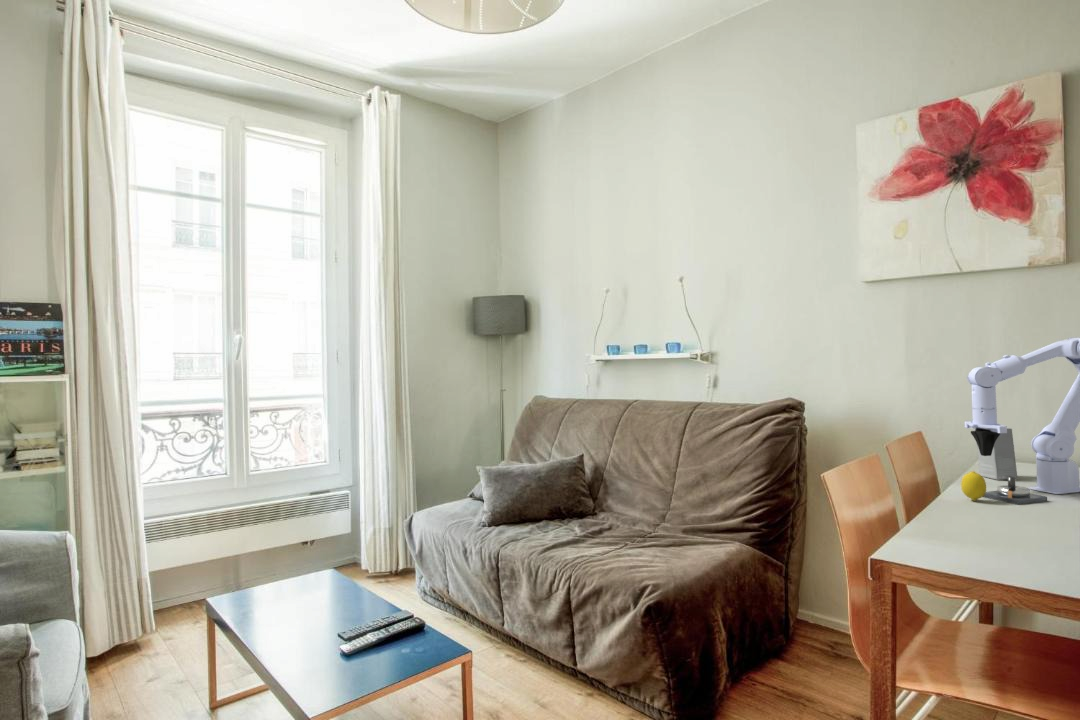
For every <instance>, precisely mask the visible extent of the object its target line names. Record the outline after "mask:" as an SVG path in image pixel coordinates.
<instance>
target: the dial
mask: <svg viewBox="0 0 1080 720" xmlns="http://www.w3.org/2000/svg"><path fill="white" fill-rule="evenodd" d="M996 488H997V489H996V491H997V493H999V494H1002V495H1007V496H1008V490H1011V491H1012V496H1017V497H1025V496H1030V493H1031V489H1029V487H1025V486H1019V485H1016V479H1015V477H1012V476H1008V479H1007V485H1006V484H1005V485H998V486H996Z"/></svg>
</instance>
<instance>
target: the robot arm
mask: <svg viewBox="0 0 1080 720" xmlns="http://www.w3.org/2000/svg"><path fill="white" fill-rule="evenodd" d="M1057 357H1058V358H1059V357H1060V358H1066V359H1067V361H1069V362H1070V363H1071V364H1072V365H1073V366H1074V367H1075V370H1077V372H1078V375H1077V376H1076V378H1075V379H1074V381H1073V383H1072V386H1071V387H1070V389H1069V390H1068V392H1067V394H1066V396H1065V398H1064V399H1063V401H1062V402H1061V405H1060V407H1059V408H1058V410H1057V411H1056V414H1055V416H1054V417H1053V419H1052V421H1051V422H1050V423H1049V424H1047V425H1046V426H1045V427H1043V428H1042V429H1041V431H1040V433H1038V434H1037V435H1035V436H1034V437H1033V438H1032V439H1031V442H1030V443H1031V444H1030V446H1031V449H1032V450H1033V452H1034V453H1035V454H1036V456H1035V462H1036V463H1035V466H1036V467H1035V468H1036V486H1030V487H1028V488H1029V489H1030V490H1033V491H1038V492H1042V493H1043V492H1044V493H1048V494H1049V493H1050V494H1054V495H1063V494H1064V495H1065V494H1073V493H1074V494H1075V493H1080V469H1079V465H1078V464H1077V463H1076V462H1075V461H1074V460H1072V459H1070V458H1071V457H1073V455H1074V452H1075V443H1076V441H1077V436H1076V433H1075V431H1076V428H1077V427H1078V425H1079V424H1080V337H1069V338H1067V339H1063V340H1062V339H1061V340H1058V341H1055V342H1053V343H1050V344H1048V345H1046V346H1043V347H1040V348H1038V349H1036V350H1032V351H1031V352H1029V353H1028V352H1027V353H1026V354H1024V355H1021V356H1018V355H1014V354H1011V355H1010V354H1005V355H1003V356H1002V358H1001V359H998V360H995V361H993V362H988V361H987V362H986V363H984V366H977V367H974V368H972V369H971V371H969V372H968V376H967V377H966V379H967V381H968V383H969V384H970V385H971V411H972V412H971V413H972V415H971V416H972V421H971V420H969V421H968V420H967V421H966V420H965V421H964V428H966V429H974V430H971V431H970V435H972V437H973V438H974V440H975V442H977V443H976V446H977V445H978V448H979V451H980V454H981V455H982V456H991V454H992V451H993V447H994V444H995V442H996V440H997V438H998V437H999V435H1000V433H1007V427H1008V426H1006V425H1003V424H999V423H998V415H997V414H998V413H997V412H998V411H997V410H998V409H997V391H996V387H997V385H998V384H999V382H1003V381H1006V380H1008V379H1011V378H1014V377H1016V376H1019V375H1022V374H1024V373H1025V372H1026V369H1027V368H1028V367H1030V366H1034V365H1037V364H1039V363H1043V362H1045V361H1048V360H1051V359H1055V358H1057ZM986 428H987V429H986ZM975 429H976V430H975Z"/></svg>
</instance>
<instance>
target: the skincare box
mask: <svg viewBox="0 0 1080 720" xmlns="http://www.w3.org/2000/svg"><path fill="white" fill-rule="evenodd" d="M986 429H987V428H986ZM975 430H976V429H974V431H975ZM975 442H976V441H975ZM976 450H977V460H978V470H979V475H981V476H982V477H983V478H989V479H992V480H998V481H1001V480H1003V481H1004V480H1008V476H1012V477H1015V480H1018V470H1017V462H1016V453H1015V445H1014V437H1013V428H1010V427H1008V428H1007V433H1000V435H999V437H998V438H997V440H996V442H995V444H994V447H993V451H992V454H991V456H982V455H981V454H980V451H979V448H978V445H977V442H976Z"/></svg>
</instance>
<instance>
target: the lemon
mask: <svg viewBox="0 0 1080 720" xmlns="http://www.w3.org/2000/svg"><path fill="white" fill-rule="evenodd" d="M984 478H985V477H983V476H981V475H980V473H977V472H976V471H975V470H973V471H970V472H967V473H966V474H964V475H963V476H962V478H961V482H960V487H961V491H962V493H963V494H964V495H965V496H966V498H969V499H970V500H971V501H973V502H976V501H977V500H979V499H982V498H984V497H983V496H984V495H985V493H986V492H987V482H986V480H985V479H984Z"/></svg>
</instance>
